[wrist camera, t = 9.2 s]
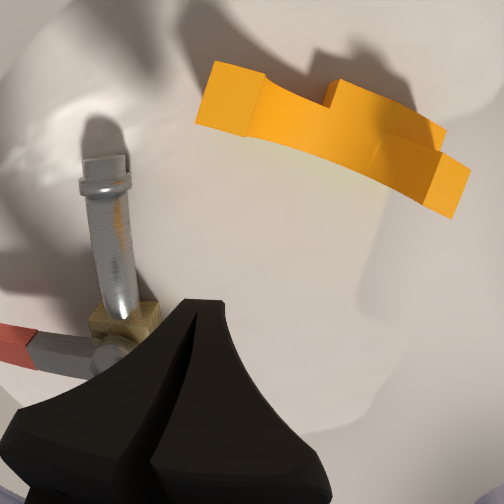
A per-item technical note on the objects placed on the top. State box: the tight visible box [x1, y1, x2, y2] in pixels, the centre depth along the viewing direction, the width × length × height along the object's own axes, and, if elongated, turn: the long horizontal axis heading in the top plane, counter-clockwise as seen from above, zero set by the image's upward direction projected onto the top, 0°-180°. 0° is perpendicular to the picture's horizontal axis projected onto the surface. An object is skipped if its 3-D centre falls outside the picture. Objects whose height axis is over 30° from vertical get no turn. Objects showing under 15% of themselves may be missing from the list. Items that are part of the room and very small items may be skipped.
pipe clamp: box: [195, 60, 471, 219], centre depth 14 cm, size 12×4×6 cm, turn 72°
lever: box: [0, 323, 137, 380], centre depth 18 cm, size 14×3×2 cm, turn 90°
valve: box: [78, 154, 161, 346], centre depth 20 cm, size 19×4×3 cm, turn 178°
